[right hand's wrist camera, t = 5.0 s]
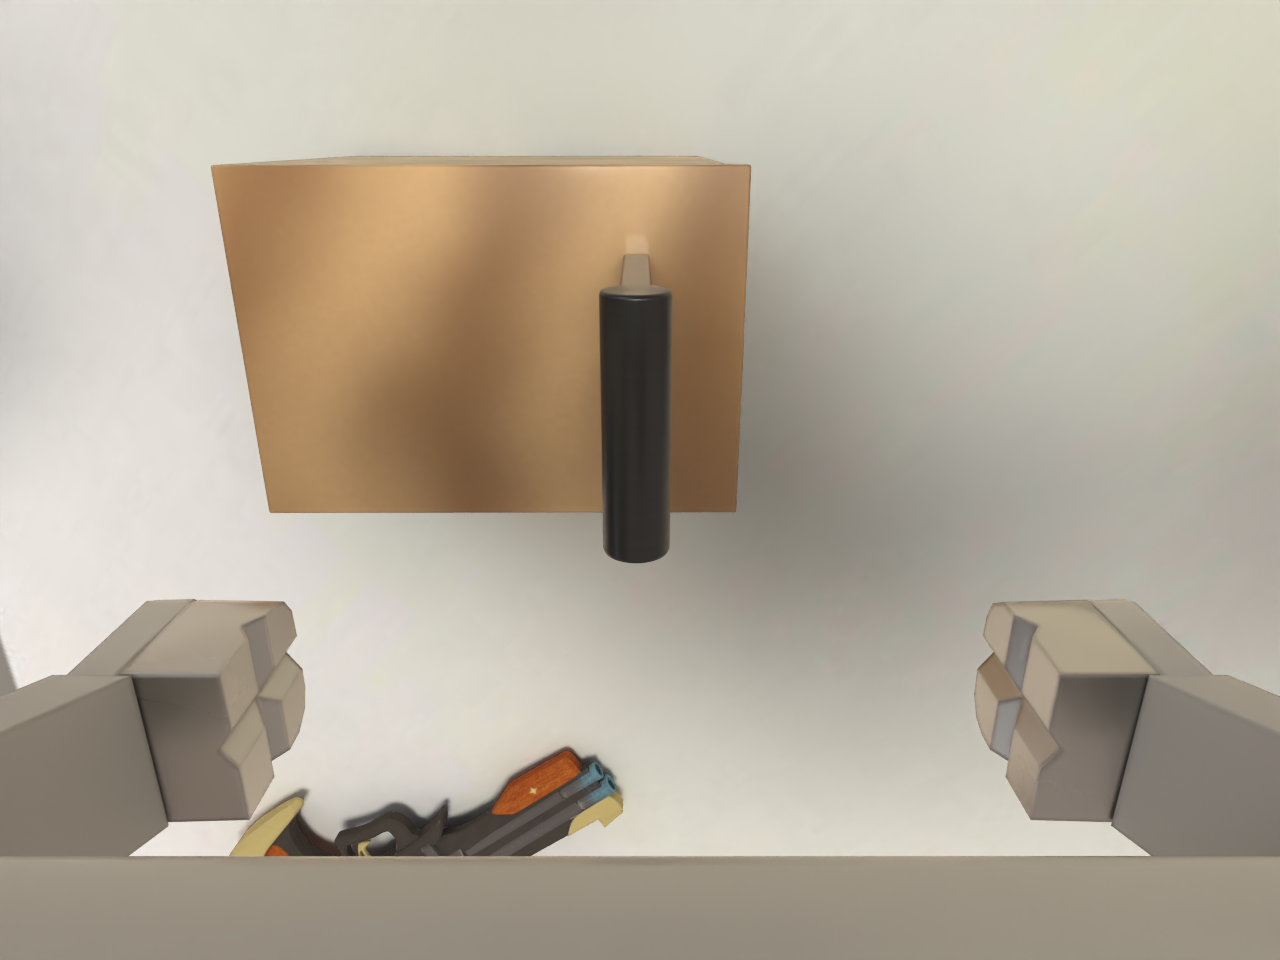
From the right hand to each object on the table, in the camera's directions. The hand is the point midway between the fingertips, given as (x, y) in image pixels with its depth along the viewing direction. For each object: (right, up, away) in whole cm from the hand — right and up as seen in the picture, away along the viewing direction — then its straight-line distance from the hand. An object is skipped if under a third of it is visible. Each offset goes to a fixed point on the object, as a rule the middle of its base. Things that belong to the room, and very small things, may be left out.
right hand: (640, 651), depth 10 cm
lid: (-4, +6, +15) cm, 17 cm away
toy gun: (-11, -15, +36) cm, 40 cm away
